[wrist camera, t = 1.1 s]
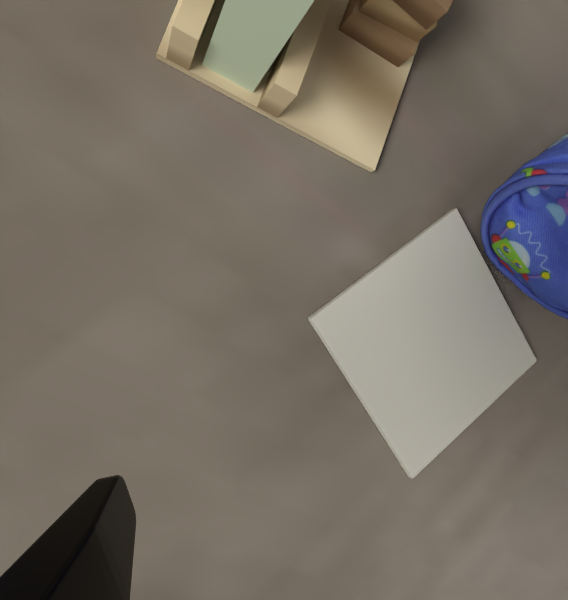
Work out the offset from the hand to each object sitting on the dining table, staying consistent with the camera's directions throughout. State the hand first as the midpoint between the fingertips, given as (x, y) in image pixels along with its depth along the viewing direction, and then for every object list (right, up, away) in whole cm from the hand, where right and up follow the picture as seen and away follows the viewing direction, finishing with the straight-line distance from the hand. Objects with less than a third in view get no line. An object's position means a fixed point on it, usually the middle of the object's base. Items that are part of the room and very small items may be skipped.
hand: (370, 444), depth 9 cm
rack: (0, +15, +13) cm, 20 cm away
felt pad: (+6, +1, +16) cm, 17 cm away
